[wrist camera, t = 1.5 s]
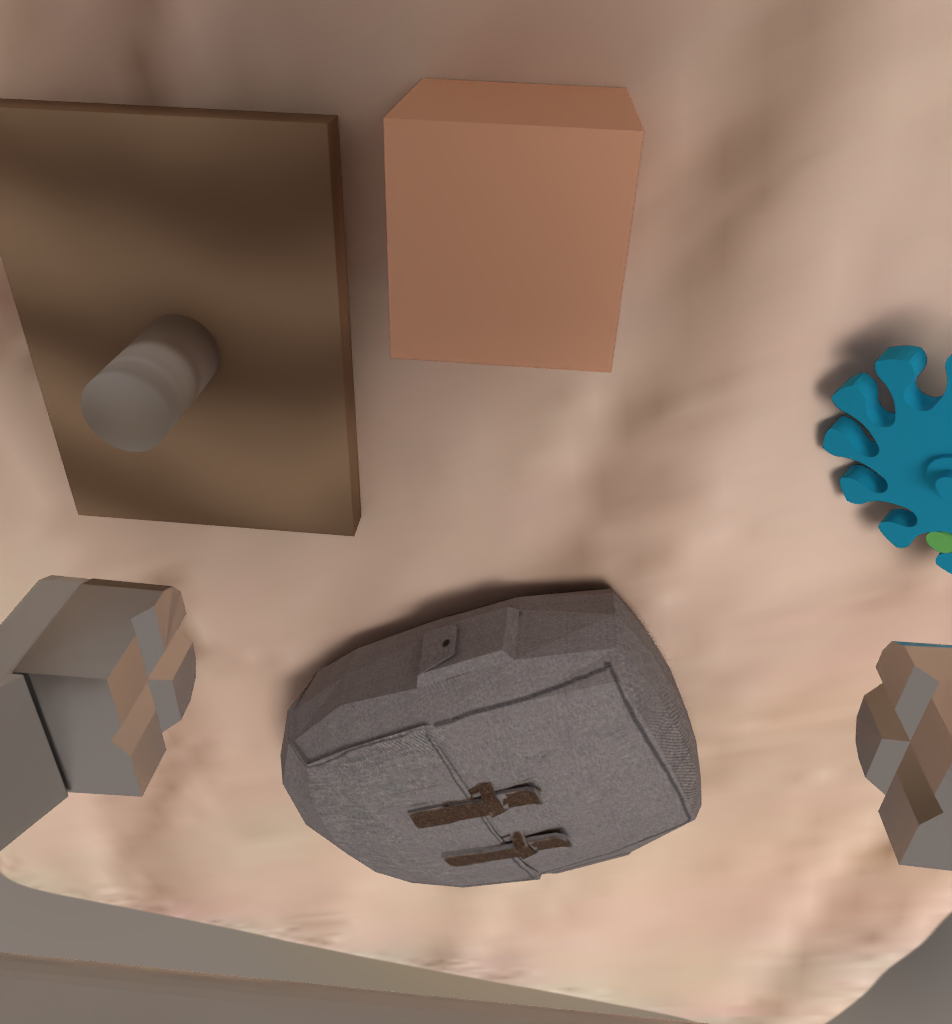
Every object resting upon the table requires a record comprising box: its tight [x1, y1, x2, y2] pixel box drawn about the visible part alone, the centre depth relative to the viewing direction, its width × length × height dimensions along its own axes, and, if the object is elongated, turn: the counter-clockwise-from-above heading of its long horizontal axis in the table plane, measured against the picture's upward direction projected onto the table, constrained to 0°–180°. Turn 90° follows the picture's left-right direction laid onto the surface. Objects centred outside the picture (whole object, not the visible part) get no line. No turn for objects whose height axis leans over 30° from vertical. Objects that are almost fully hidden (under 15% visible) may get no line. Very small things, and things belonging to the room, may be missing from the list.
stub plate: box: [0, 98, 361, 536], centre depth 29 cm, size 16×12×6 cm
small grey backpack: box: [281, 589, 701, 887], centre depth 39 cm, size 15×8×20 cm
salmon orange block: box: [383, 78, 644, 372], centre depth 25 cm, size 6×6×7 cm
